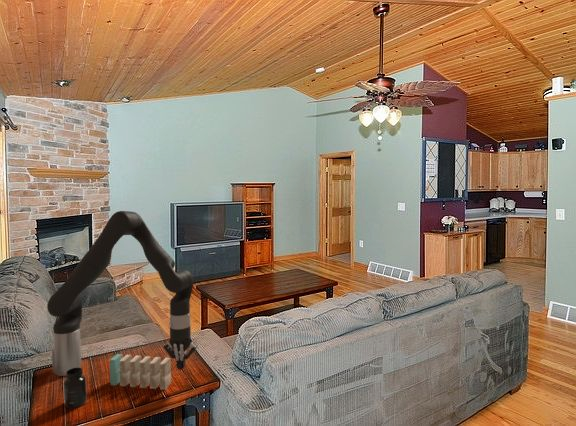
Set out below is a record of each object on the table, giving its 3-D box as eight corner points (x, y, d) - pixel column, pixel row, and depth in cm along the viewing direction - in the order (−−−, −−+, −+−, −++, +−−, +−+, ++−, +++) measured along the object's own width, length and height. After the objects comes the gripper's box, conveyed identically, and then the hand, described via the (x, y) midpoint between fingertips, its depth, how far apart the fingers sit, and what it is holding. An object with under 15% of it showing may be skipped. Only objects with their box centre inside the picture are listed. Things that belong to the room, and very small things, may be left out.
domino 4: (140, 387, 141) (139, 362, 140) (146, 380, 146) (146, 356, 145) (145, 388, 141) (144, 362, 140) (151, 381, 146) (151, 356, 145)
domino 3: (130, 386, 142) (129, 361, 141) (136, 379, 146) (136, 355, 146) (135, 387, 141) (134, 361, 140) (141, 380, 146) (141, 355, 145)
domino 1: (110, 385, 143) (109, 359, 142) (117, 378, 148) (117, 353, 147) (115, 385, 142) (114, 360, 141) (122, 378, 147) (122, 354, 146)
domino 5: (150, 388, 141) (149, 363, 140) (156, 381, 146) (155, 356, 145) (155, 389, 140) (154, 363, 139) (161, 381, 145) (160, 357, 144)
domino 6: (160, 389, 140) (159, 363, 139) (166, 382, 145) (165, 357, 144) (165, 390, 140) (164, 364, 139) (171, 382, 145) (170, 358, 144)
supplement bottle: (70, 398, 134) (69, 365, 133) (90, 397, 134) (89, 365, 133) (60, 409, 127) (59, 376, 126) (81, 409, 128) (80, 375, 127)
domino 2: (120, 386, 142) (119, 360, 141) (127, 379, 147) (126, 354, 146) (125, 386, 142) (124, 361, 141) (132, 379, 147) (131, 355, 146)
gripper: (200, 321, 142) (201, 365, 144) (167, 319, 144) (168, 362, 146) (193, 329, 135) (194, 375, 137) (158, 327, 137) (159, 372, 138)
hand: (180, 368), depth 141 cm, fingers closed
